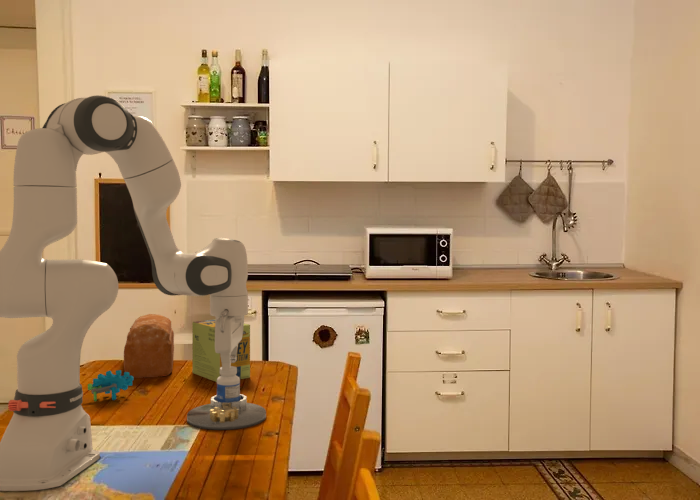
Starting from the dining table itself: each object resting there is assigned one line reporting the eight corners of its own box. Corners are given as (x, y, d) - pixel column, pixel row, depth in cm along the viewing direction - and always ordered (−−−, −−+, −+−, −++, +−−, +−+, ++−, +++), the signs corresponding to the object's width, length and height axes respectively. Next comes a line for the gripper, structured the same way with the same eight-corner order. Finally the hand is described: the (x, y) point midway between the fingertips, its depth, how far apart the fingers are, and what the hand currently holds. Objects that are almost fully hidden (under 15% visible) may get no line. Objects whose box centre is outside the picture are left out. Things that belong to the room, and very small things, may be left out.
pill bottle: (214, 406, 163) (213, 366, 163) (236, 404, 166) (236, 364, 165) (220, 412, 158) (220, 371, 158) (242, 410, 161) (242, 369, 160)
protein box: (219, 383, 190) (219, 328, 189) (191, 373, 201) (191, 321, 200) (251, 377, 197) (251, 324, 196) (222, 368, 208) (222, 318, 208)
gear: (137, 383, 179) (128, 364, 172) (138, 403, 176) (130, 384, 168) (93, 393, 177) (82, 374, 170) (94, 413, 174) (83, 395, 166)
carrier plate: (262, 429, 150) (262, 413, 150) (179, 430, 149) (179, 413, 149) (268, 406, 168) (268, 391, 168) (194, 406, 167) (194, 392, 167)
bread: (122, 379, 194) (121, 325, 193) (130, 360, 219) (129, 311, 219) (172, 377, 197) (172, 323, 196) (174, 358, 223) (174, 310, 222)
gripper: (236, 312, 150) (236, 375, 150) (247, 303, 171) (248, 358, 171) (207, 312, 150) (208, 375, 150) (222, 303, 170) (222, 358, 171)
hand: (229, 366), depth 161 cm, fingers open, 8 cm apart
